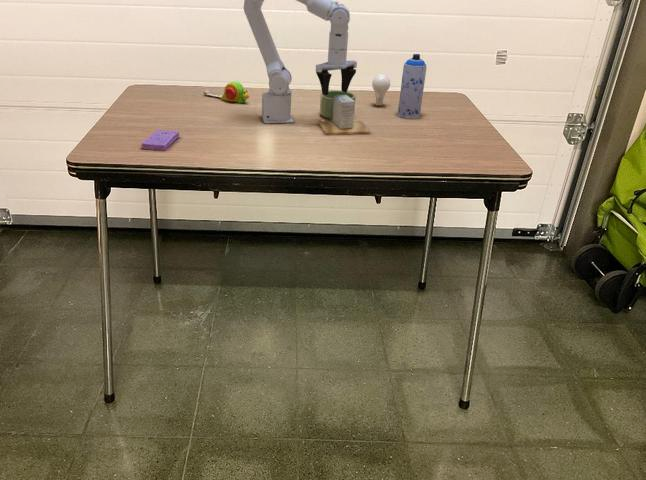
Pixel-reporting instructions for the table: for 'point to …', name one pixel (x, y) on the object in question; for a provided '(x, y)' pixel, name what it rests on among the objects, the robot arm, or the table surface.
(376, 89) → the lightbulb
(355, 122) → the board
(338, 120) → the medicine box
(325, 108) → the pot
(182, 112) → the table surface
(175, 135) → the sponge
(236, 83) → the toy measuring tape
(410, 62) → the aerosol can
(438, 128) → the table surface
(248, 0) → the robot arm
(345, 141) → the table surface
